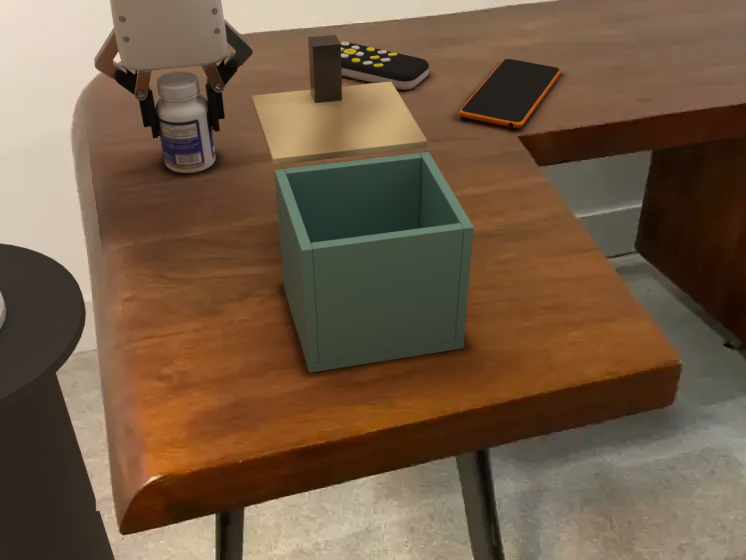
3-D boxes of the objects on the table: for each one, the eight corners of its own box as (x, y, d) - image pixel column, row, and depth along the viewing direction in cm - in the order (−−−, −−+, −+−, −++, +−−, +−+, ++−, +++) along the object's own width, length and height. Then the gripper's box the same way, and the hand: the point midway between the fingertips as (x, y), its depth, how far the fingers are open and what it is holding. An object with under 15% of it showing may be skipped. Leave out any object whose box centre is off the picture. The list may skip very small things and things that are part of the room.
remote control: (410, 93, 107) (410, 77, 106) (317, 71, 112) (316, 55, 110) (433, 74, 111) (433, 58, 110) (342, 53, 116) (341, 37, 114)
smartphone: (562, 73, 112) (563, 66, 111) (520, 131, 100) (521, 124, 100) (503, 62, 114) (503, 55, 113) (456, 118, 103) (456, 111, 102)
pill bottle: (185, 145, 98) (172, 63, 92) (225, 156, 96) (215, 74, 90) (154, 167, 94) (139, 83, 88) (195, 179, 93) (183, 94, 87)
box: (309, 373, 71) (301, 250, 63) (283, 287, 79) (274, 169, 72) (463, 348, 73) (474, 227, 66) (423, 267, 82) (428, 151, 74)
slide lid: (273, 165, 72) (267, 98, 68) (251, 102, 80) (245, 38, 76) (427, 147, 74) (430, 81, 70) (391, 87, 82) (392, 25, 78)
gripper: (247, -84, 85) (263, 104, 97) (55, -71, 81) (97, 121, 94) (259, -59, 79) (275, 136, 92) (55, -44, 76) (99, 156, 89)
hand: (185, 127), depth 93 cm, fingers closed on pill bottle, 5 cm apart
